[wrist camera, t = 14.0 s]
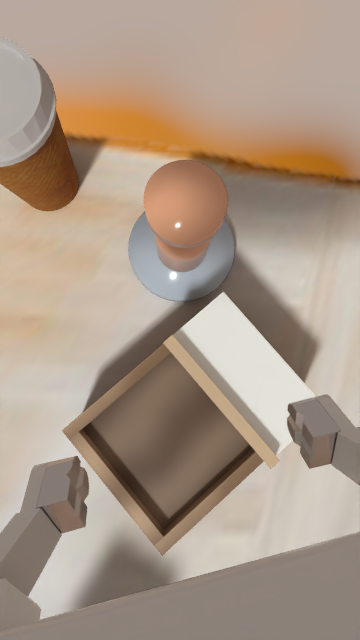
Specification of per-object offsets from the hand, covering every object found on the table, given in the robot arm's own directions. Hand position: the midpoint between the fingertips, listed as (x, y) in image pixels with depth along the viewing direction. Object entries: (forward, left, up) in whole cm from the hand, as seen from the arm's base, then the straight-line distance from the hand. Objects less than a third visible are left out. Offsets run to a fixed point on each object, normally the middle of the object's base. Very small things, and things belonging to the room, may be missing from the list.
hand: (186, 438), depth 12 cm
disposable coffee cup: (-26, +3, -20) cm, 32 cm away
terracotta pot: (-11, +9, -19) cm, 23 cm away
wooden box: (+2, -1, -20) cm, 20 cm away
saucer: (-11, +9, -20) cm, 24 cm away
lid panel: (+3, +5, -15) cm, 16 cm away
